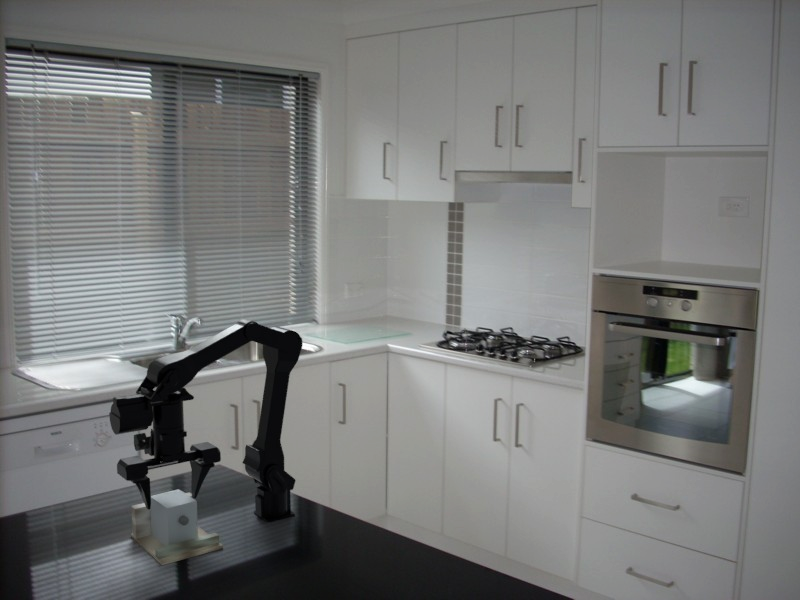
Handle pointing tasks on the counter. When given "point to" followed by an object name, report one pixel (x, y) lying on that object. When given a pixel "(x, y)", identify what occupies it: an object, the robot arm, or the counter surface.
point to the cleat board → (173, 551)
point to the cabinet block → (173, 517)
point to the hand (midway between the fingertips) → (171, 503)
